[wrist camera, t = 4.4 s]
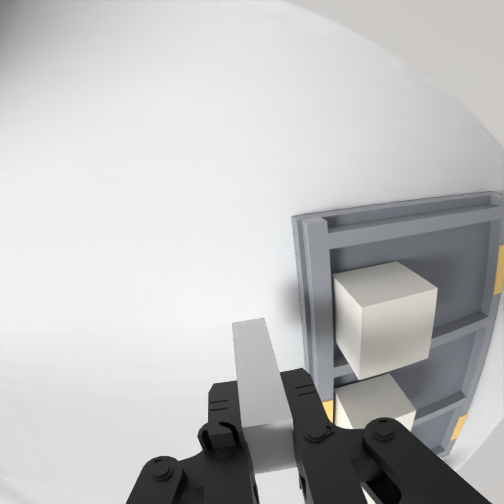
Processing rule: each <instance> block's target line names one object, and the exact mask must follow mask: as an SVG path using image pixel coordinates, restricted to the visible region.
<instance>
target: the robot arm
mask: <svg viewBox="0 0 504 504" xmlns="http://www.w3.org/2000/svg"><path fill="white" fill-rule="evenodd" d="M232 328H233V340H234V351H235V362H236V373H237V381H230V382H222V383H215V384H213V386H212V388H211V389H210V391H209V396H208V403H209V404H208V411H209V412H208V423H206V424H204V425H203V426H202V428H201V429H200V430H199V432H198V436H197V437H198V439H199V442H200V444H201V447H202V449H203V450H202V451H201V452H200V453H198V454H197V455H195V456H193V457H190V458H187V459H184V460H181V461H178V460H176V459H175V458H172V457H169V456H159V457H156V458H153V459H151V460H150V461H148V462H147V463H146V464H145V466H144V467H143V469H142V471H141V473H140V475H139V477H138V479H137V481H136V483H135V485H134V487H133V490H132V492H131V494H130V496H129V498H128V500H127V502H126V504H260V503H259V496H258V489H257V485H256V481H255V475H254V474H258V473H265V472H271V471H277V470H282V469H288V468H293V467H297V468H298V471H299V484H300V489H302V492H303V496H304V500H305V504H368V502H367V499H366V497H365V494H364V492H363V490H362V488H363V489H364V490H365V491H366V492H367V494H368V495H369V496H370V497H371V498H372V500H373V501H374V502H375V503H376V504H492V503H490V502H489V501H488V500H487V499H486V498H485V497H483V496H482V495H481V494H480V493H479V492H478V491H476V490H475V489H474V488H473V487H472V486H471V485H470V484H468V483H467V482H466V481H465V480H464V479H463V478H462V477H460V476H459V475H458V474H457V473H456V472H455V471H454V470H453V469H451V468H450V467H449V466H448V465H447V464H446V463H445V462H444V461H442V460H441V459H440V458H439V457H438V456H437V455H436V454H435V453H433V452H432V451H431V450H430V449H429V448H428V447H427V446H426V445H425V444H423V443H422V442H421V441H420V440H419V439H418V438H417V437H416V436H415V435H414V434H412V433H411V432H410V431H409V430H408V429H407V428H406V427H405V426H404V425H403V424H401V423H400V422H399V421H397V420H396V419H393V418H389V417H382V418H377V419H374V420H372V421H371V422H369V423H368V424H367V425H366V427H365V428H364V429H345V428H341V427H338V426H336V425H334V424H333V423H332V422H331V421H330V420H329V418H328V416H327V414H326V411H325V409H324V406H323V404H322V401H321V399H320V396H319V394H318V392H317V389H316V387H315V385H314V382H313V379H312V377H311V375H310V374H309V373H308V372H307V371H305V370H304V369H303V368H300V369H295V370H290V371H285V372H280V373H279V369H278V366H277V362H276V358H275V355H274V351H273V348H272V344H271V341H270V337H269V333H268V330H267V326H266V323H265V319H264V318H260V319H254V320H248V321H242V322H236V323H232ZM361 486H362V487H361Z"/></svg>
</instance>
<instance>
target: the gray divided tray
mask: <svg viewBox="0 0 504 504" xmlns="http://www.w3.org/2000/svg"><path fill="white" fill-rule="evenodd" d="M291 217H292V226H293V235H294V244H295V254H296V264H297V274H298V284H299V295H300V307H301V318H302V331H303V344H304V358H305V371H307V372H308V373H309V374H310V375H311V377H312V379H313V382H314V385H315V387H316V389H317V392H318V394H319V396H320V399H321V401H322V404H323V406H324V409H325V411H326V414H327V416H328V418H329V420H330V421H331V422H332V423H333V411H334V389H335V388H339V387H343V386H347V385H350V384H354V383H358V382H361V381H365V380H368V379H372V378H375V377H378V376H382V375H385V374H388V373H390V375H391V376H392V377H393V379H394V380H395V381H396V383H397V384H398V386H399V387H400V388H401V390H402V391H403V392H404V394H405V395H406V397H407V398H408V399H409V401H410V402H411V404H412V405H413V406H414V408H415V409H416V414H415V418H414V421H413V425H412V428H411V433H412V434H414V435H415V436H416V437H417V438H418V439H419V440H420V441H421V442H422V443H423V444H425V445H426V446H427V447H428V448H429V449H430V450H431V451H432V452H433V453H435V454H436V455H437V456H438V457H440V456H441V458H443V457H445V456H447V455H449V454H450V452H451V449H452V447H453V445H454V443H455V441H456V439H457V438H458V435H459V433H460V431H461V429H462V426H463V424H464V421H465V419H466V416H467V412H468V410H469V407H470V405H471V402H472V399H473V396H474V394H475V391H476V388H477V385H478V382H479V379H480V376H481V372H482V369H483V366H484V363H485V359H486V356H487V352H488V348H489V345H490V341H491V337H492V333H493V328H494V324H495V319H496V315H497V310H498V305H499V299H500V294H501V292H502V286H503V280H504V195H502V194H499V193H495V192H481V193H471V194H462V195H453V196H444V197H435V198H426V199H418V200H409V201H401V202H393V203H385V204H378V205H370V206H362V207H355V208H347V209H340V210H333V211H326V212H319V213H312V214H305V215H298V216H291ZM396 261H398V262H399V263H401V264H402V265H404V266H405V267H407V268H408V269H410V270H411V271H413V272H415V273H416V274H418V275H419V276H421V277H422V278H424V279H425V280H427V281H428V282H430V283H431V284H432V285H434V286H435V287H437V288H438V289H437V299H436V308H435V316H434V324H433V331H432V337H431V344H430V350H429V355H428V358H427V359H424V360H421V361H418V362H416V363H413V364H410V365H407V366H404V367H401V368H398V369H395V370H392V371H388V372H385V373H382V374H379V375H375V376H372V377H369V378H365V379H362V380H358V378H357V376H356V375H355V373H354V371H353V370H352V368H351V366H350V365H349V363H348V361H347V360H346V358H345V356H344V355H343V353H342V351H341V350H340V348H339V346H338V345H337V343H336V341H335V340H334V329H333V298H332V277H331V274H335V273H340V272H346V271H351V270H356V269H361V268H366V267H371V266H376V265H381V264H386V263H391V262H396Z"/></svg>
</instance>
